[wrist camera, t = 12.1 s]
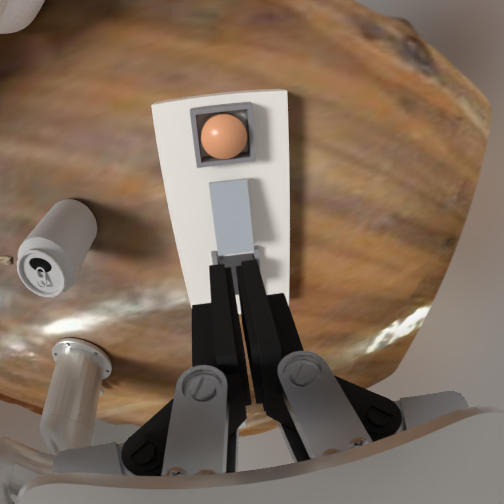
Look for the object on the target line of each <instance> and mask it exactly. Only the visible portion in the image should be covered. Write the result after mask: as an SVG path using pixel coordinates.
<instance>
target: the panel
mask: <svg viewBox="0 0 504 504" xmlns="http://www.w3.org/2000/svg"><path fill="white" fill-rule="evenodd" d="M151 107H152V114H153V121H154V127H155V134H156V140H157V146H158V153H159V158H160V164H161V170H162V176H163V181H164V186H165V192H166V197H167V202H168V207H169V212H170V217H171V222H172V227H173V231H174V236H175V241H176V245H177V250H178V254H179V258H180V263H181V267H182V271H183V275H184V280H185V284H186V288H187V292H188V296H189V300H190V304H191V308H192V305H197V304H205V303H211V292H210V275H209V265H217V264H220V258H219V257H226V256H234V255H242V254H250V253H251V255H252V259H253V260H255V259H257V262H258V266H259V269H260V273H261V276H262V280H263V284H264V287H265V291H266V294H267V295H271V294H278V293H284V295H285V297H286V300H287V303H288V306H289V271H290V178H289V130H288V99H287V90H283V89H265V90H248V91H235V92H225V93H215V94H206V95H198V96H191V97H184V98H177V99H171V100H165V101H159V102H155V103H154V104H152V105H151ZM220 112H227V113H231V114H233V115H235V116H236V117H238V118H239V119H240V121H241V122H242V123H243V125H244V127H245V129H246V132H247V142H246V145H245V147H244V149H243V150H242V151H241V152H240V153H239V154H238V155H236V156H234V157H232V158H229V159H218V158H215V157H213V156H211V155H209V154H208V153H207V152H206V151H205V149H204V147H203V145H202V142H201V132H202V127H203V124H204V123H205V121H206V120H207V119H208V118H209V117H210V116H212V115H214V114H216V113H220ZM243 178H246V179H247V183H248V193H249V203H250V213H251V224H252V234H253V245H254V251H252V252H244V253H237V254H229V255H221V256H218V250H217V243H216V236H215V228H214V220H213V213H212V205H211V197H210V188H209V182H217V181H225V180H234V179H243ZM235 296H236V303H237V309H238V314H241V308H240V299H239V295H235Z"/></svg>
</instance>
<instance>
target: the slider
mask: <svg viewBox="0 0 504 504" xmlns="http://www.w3.org/2000/svg"><path fill="white" fill-rule="evenodd" d="M219 258H220V264H224V265H225V268H226V267H231V271H232V277H233V284H234V290H235V295H239V291H238V282H237V273H236V266H241V261H248V260H253V259H252V255H251V253H250V254H242V255H234V256H226V257H219Z"/></svg>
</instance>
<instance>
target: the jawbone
mask: <svg viewBox="0 0 504 504" xmlns="http://www.w3.org/2000/svg"><path fill="white" fill-rule="evenodd" d="M10 259H12V257H9V256H6V255H0V264H4V265H10V264H11V263H12V260H11V261H10Z"/></svg>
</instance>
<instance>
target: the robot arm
mask: <svg viewBox="0 0 504 504" xmlns="http://www.w3.org/2000/svg"><path fill="white" fill-rule="evenodd" d="M236 273H237V282H238V291H239V299H240V308H241V316H242V324H243V330H244V336H245V342H246V348H247V353H248V359H249V365H250V370H251V376H252V381H253V387H254V392H255V398H256V403H257V404H259V403H263V407H264V411H266V414H267V416H269V417H271V418H273V419H275V420H276V421H277V422H278V426H279V428H280V430H281V433H282V435H283V438H284V440H285V442H286V445H287V447H288V449H289V452H290V454H291V456H292V459H293V461H294V463H292V464H287V465H281V466H276V467H270V468H264V469H257V470H250V471H242V472H237V469H238V468H237V466H238V436H239V430H238V428H239V426H240V425H241V424H242V423H243V422H244V421H245V420H246V419H247V415H246V408H245V406H246V405H252V404H251V397H250V390H249V382H248V375H247V367H246V359H245V352H244V346H243V340H242V334H241V328H240V321H239V315H238V309H237V303H236V296H235V290H234V284H233V277H232V271H231V267H226V268H225V265H224V264H217V265H209V275H210V292H211V303H205V304H197V305H192V368H189V369H188V370H186V371H185V372H183V374H182V375H181V376H180V377H179V379H178V381H177V384H176V389H175V395H174V398H173V399H172V400H171V401H170V402H169V403H168V404H167V405H165V406H164V407H163V408H162V409H161V410H160V411H159V412H158V413H157V414H155V415H154V416H153V417H152V418H151V419H150V420H149V421H148V422H147V423H145V424H144V425H143V426H142V427H141V428H140V429H139V430H137V432H135V433H134V434H133V435H132V436H131V437H129V438H128V440H127V441H126V442H124V443H119V444H117V443H116V442H111V443H106V444H100V445H94V446H92V441H93V433H94V425H95V418H96V412H97V405H98V399H99V394H100V395H103V394H104V390H103V389H102V387H101V385H102V380H103V379H105V378H107V377H108V376H109V375H110V374H111V371H112V363H111V360H110V358H109V357H108V356H107V354H106V353H105V352H104V351H102V350H101V349H100V348H98V347H97V346H95V345H93V344H91V343H89V342H87V341H84V340H81V339H76V338H64V339H61V340H58V341H57V342H56V343H55V344H54V347H53V350H52V355H53V358H54V360H55V362H56V365H55V369H54V372H53V375H52V379H51V382H50V386H49V390H48V393H47V397H46V401H45V405H44V409H43V413H42V418H41V422H40V432H41V436H42V439H43V441H44V443H45V445H46V447H47V449H48V451H49V453H50V454H46V453H44V452H40V451H38V450H35V449H33V448H30V447H28V446H26V445H24V444H22V443H19V442H17V441H15V440H12V439H10V438H7V437H0V504H504V408H502V407H497V406H475V407H468V404H467V402H466V400H465V398H464V397H463V396H462V395H461V394H460V393H458V392H455V391H445V392H440V393H433V394H427V395H420V396H413V397H404V398H400V400H399V401H391V400H389V399H388V398H386V397H383V396H381V395H378V394H376V393H373V392H371V391H368V390H366V389H364V388H362V387H359V386H357V385H355V384H352V383H350V382H348V381H346V380H343V379H341V378H339V377H337V376H334V375H333V373H332V371H331V370H330V368H329V366H328V364H327V363H326V361H325V360H324V359H323V358H322V357H321V356H319V355H318V354H316V353H313V352H310V351H304V350H303V347H302V344H301V341H300V338H299V335H298V332H297V329H296V326H295V323H294V321H293V318H292V315H291V312H290V309H289V306H288V303H287V300H286V297H285V295H284V293H278V294H271V295H267V294H266V291H265V287H264V284H263V280H262V276H261V273H260V269H259V266H258V262H257V259H255V260H248V261H241V266H236ZM11 494H12V495H14V496H17V499H16V502H14V501H13V500H12V499H11Z"/></svg>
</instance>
